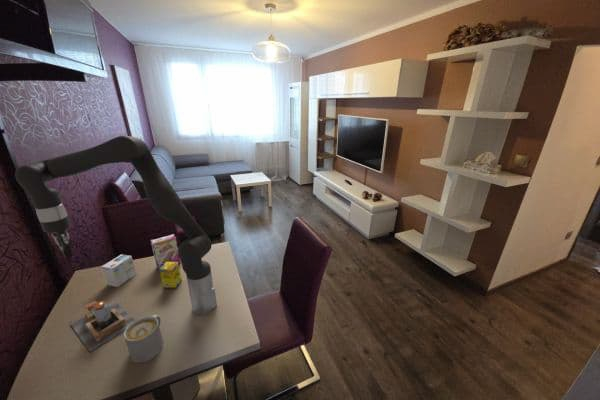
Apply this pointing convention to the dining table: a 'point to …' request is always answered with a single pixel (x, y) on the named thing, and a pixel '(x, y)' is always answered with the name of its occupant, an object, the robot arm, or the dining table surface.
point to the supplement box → (170, 275)
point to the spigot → (102, 315)
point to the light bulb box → (119, 270)
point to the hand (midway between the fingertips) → (69, 257)
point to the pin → (91, 307)
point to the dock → (91, 331)
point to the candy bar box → (165, 250)
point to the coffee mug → (144, 338)
